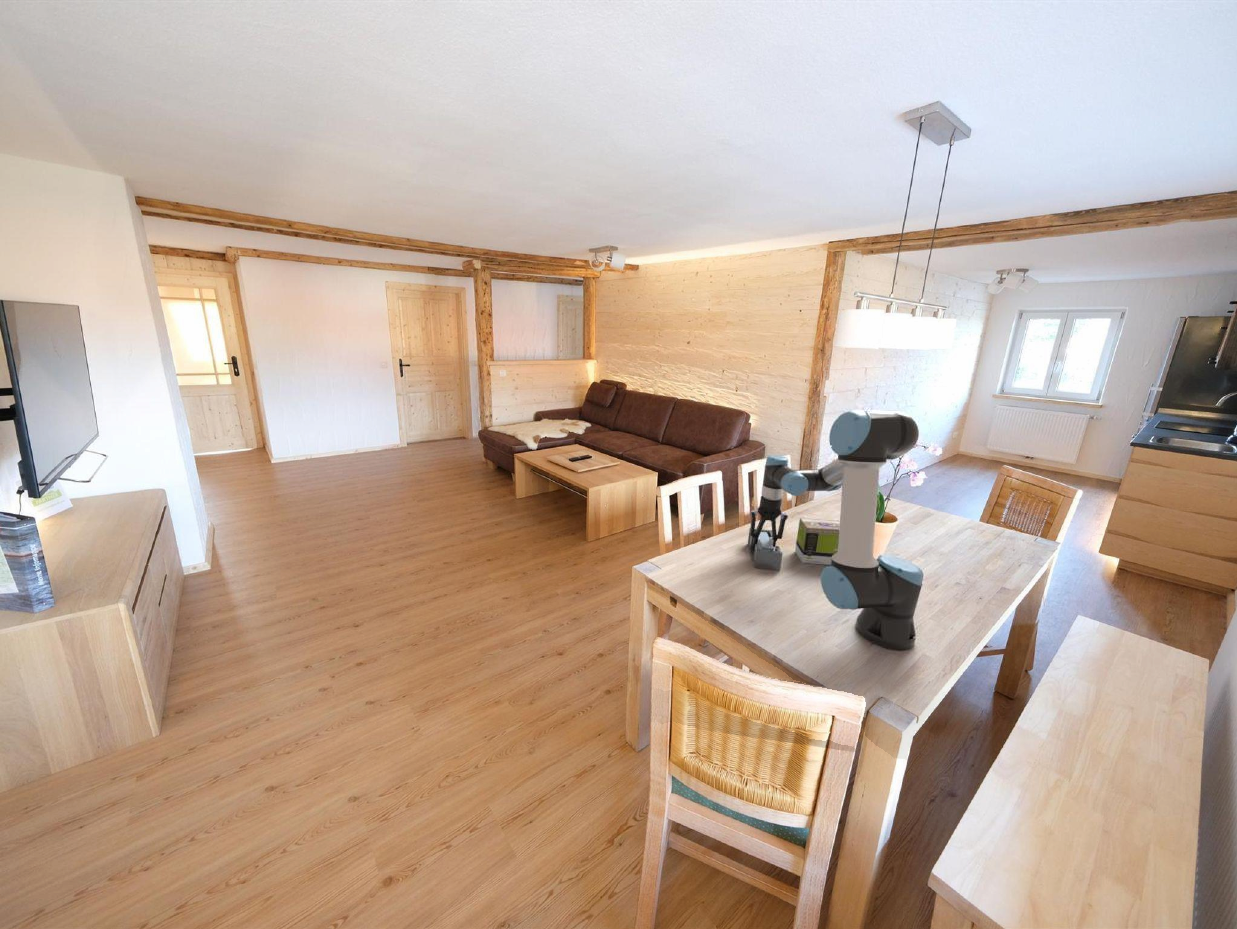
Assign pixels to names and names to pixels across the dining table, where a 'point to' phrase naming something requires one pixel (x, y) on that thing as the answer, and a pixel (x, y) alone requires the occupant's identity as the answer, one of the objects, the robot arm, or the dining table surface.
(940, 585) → the dining table surface
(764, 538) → the blue-grey block
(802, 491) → the robot arm
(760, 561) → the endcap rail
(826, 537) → the tea box
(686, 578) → the dining table surface
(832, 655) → the dining table surface
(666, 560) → the dining table surface
